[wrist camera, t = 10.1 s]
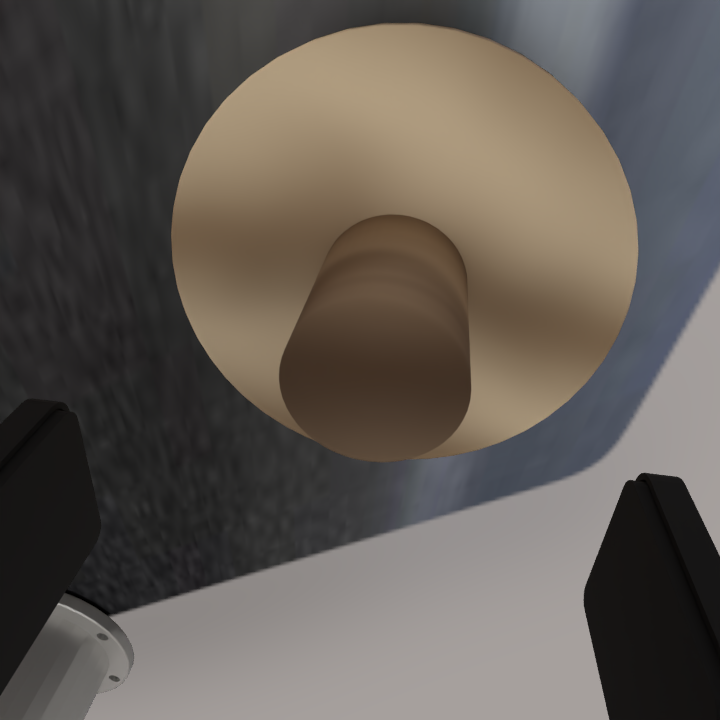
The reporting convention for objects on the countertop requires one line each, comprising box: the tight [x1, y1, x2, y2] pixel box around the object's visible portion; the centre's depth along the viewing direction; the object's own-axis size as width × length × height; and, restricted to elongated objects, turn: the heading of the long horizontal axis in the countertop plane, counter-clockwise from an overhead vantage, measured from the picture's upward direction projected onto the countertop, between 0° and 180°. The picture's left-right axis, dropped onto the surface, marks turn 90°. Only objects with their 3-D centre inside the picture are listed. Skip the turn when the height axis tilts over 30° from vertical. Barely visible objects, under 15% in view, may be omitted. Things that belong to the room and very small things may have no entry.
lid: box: [171, 23, 638, 462], centre depth 15 cm, size 13×13×6 cm
